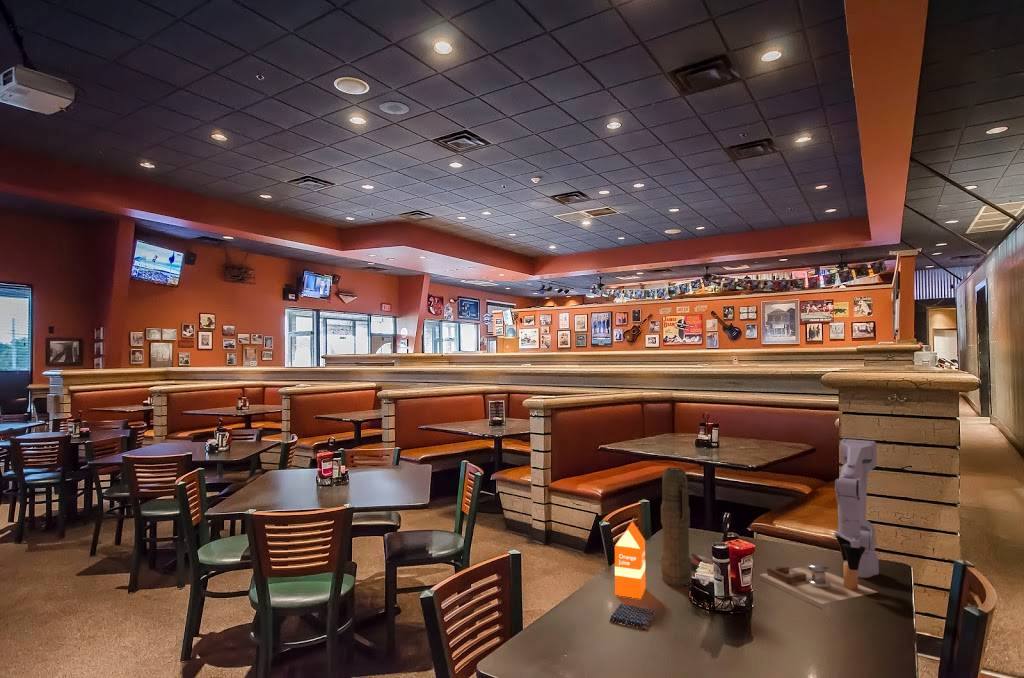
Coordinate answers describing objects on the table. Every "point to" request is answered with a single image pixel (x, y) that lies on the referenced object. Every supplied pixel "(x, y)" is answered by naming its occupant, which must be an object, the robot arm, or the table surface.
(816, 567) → the bobbin
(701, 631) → the table surface
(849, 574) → the peg
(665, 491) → the thermos
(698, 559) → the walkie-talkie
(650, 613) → the woven mat
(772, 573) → the notch block
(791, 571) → the jig board
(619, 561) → the orange juice
